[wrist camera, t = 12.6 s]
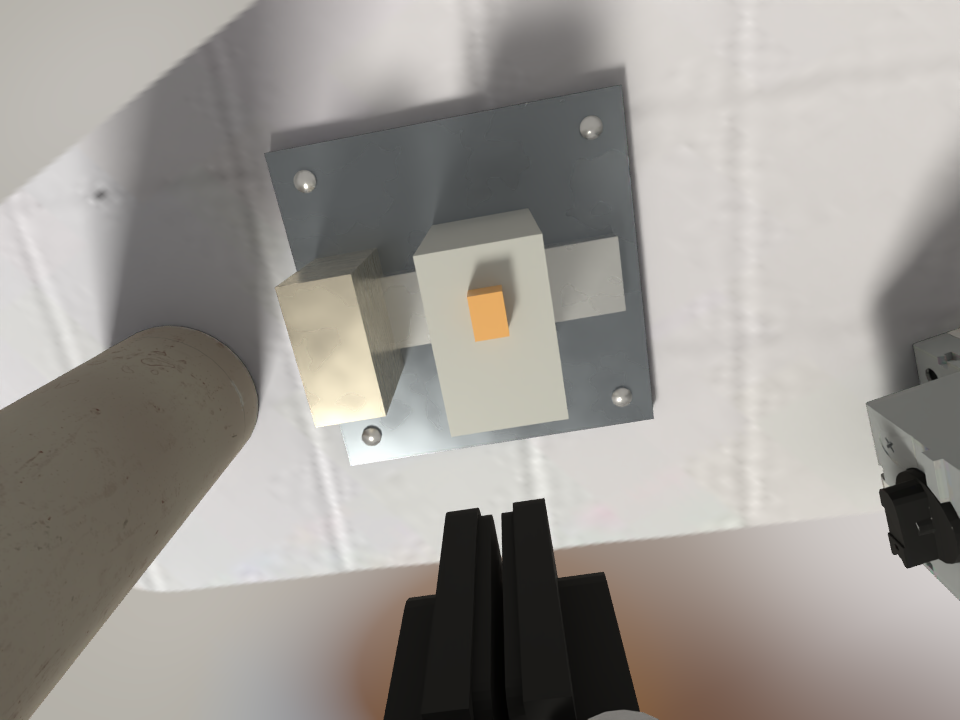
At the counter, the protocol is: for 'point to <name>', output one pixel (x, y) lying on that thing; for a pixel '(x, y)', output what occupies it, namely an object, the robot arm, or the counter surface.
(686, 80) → the counter surface
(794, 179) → the counter surface
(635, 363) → the mounting plate
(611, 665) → the robot arm
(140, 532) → the thermos bottle
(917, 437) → the circuit breaker
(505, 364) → the block
